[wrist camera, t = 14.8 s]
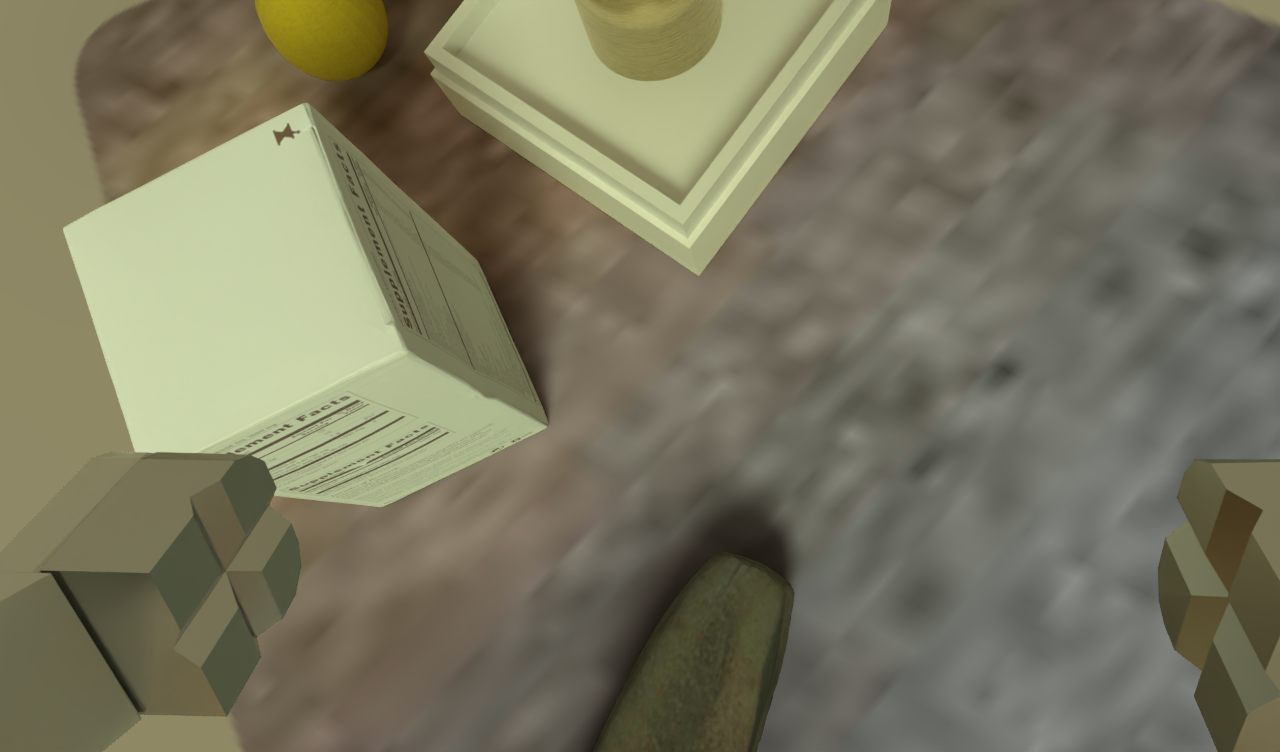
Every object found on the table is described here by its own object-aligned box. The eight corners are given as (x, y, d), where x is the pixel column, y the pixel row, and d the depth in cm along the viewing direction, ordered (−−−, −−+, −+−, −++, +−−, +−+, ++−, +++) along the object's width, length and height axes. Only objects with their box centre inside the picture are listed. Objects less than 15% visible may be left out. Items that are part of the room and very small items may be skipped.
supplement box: (312, 337, 46) (49, 217, 30) (478, 254, 46) (301, 84, 30) (379, 515, 44) (133, 489, 28) (555, 430, 44) (409, 352, 27)
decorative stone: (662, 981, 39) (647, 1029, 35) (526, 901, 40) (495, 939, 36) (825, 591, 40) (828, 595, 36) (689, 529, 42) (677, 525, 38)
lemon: (363, -9, 50) (283, -115, 42) (433, 50, 48) (364, -47, 41) (291, 67, 50) (197, -25, 42) (359, 128, 48) (275, 46, 40)
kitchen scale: (892, 17, 45) (906, -61, 39) (699, 276, 44) (684, 234, 38) (643, -123, 48) (622, -213, 43) (459, 113, 47) (414, 54, 42)
